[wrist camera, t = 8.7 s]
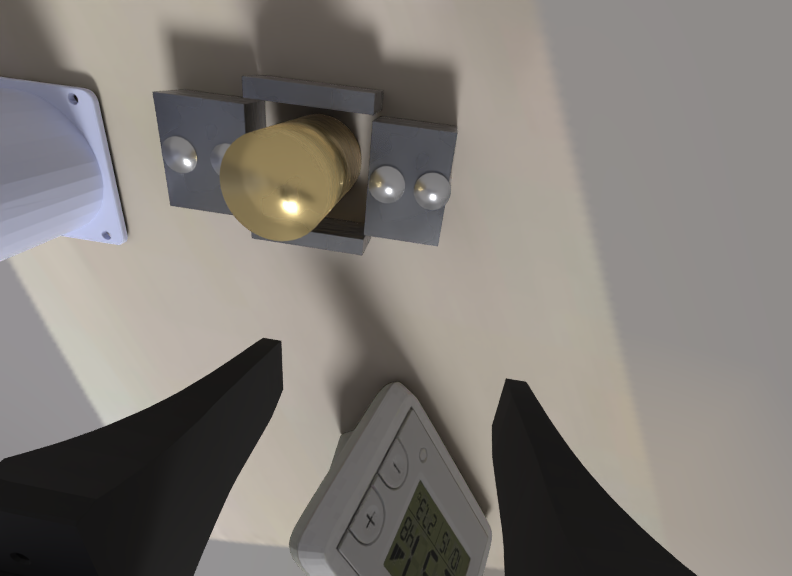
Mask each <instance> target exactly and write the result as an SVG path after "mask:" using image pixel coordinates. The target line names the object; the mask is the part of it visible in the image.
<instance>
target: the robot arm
mask: <svg viewBox="0 0 792 576" xmlns="http://www.w3.org/2000/svg"><path fill="white" fill-rule="evenodd" d="M74 94H75V95H76V96H77V98H78V102H77V101H76V100H75V98H74ZM107 232H108V233H109V234H110V236H111V237H110V236H109V235H108V233H107ZM59 236H66V237H72V238H78V239H84V240H91V241H97V242H103V243H110V244H116V245H121V244H122V243H124V242H126V241H127V239H128V236H127V231H126V226H125V222H124V217H123V213H122V208H121V203H120V199H119V194H118V190H117V185H116V180H115V176H114V171H113V167H112V162H111V157H110V153H109V148H108V143H107V139H106V134H105V130H104V125H103V120H102V116H101V111H100V107H99V102H98V99H97V96H96V95H95V94H94V92H92V91H91V90H89V89H87V88H80V87H73V86H66V85H58V84H51V83H44V82H36V81H29V80H22V79H14V78H7V77H0V261H3V260H5V259H7V258H10V257H12V256H14V255H17V254H19V253H22V252H24V251H26V250H29V249H31V248H33V247H36V246H38V245H40V244H43V243H45V242H47V241H50V240H52V239H54V238H57V237H59ZM282 391H283V372H282V347H281V341H279V340H273V339H267V338H262V339H261V340H259V341H258V342H256V343H255V344H253V345H252V346H250V347H249V348H247V349H246V350H244V351H243V352H241V353H240V354H239V355H237V356H236V357H234V358H233V359H231V360H230V361H228V362H227V363H225V364H224V365H222V366H221V367H219V368H218V369H216V370H215V371H213V372H212V373H210V374H208V375H207V376H205V377H203V378H202V379H200V380H198V381H197V382H195V383H193V384H192V385H190V386H188V387H187V388H185V389H183V390H182V391H180V392H178V393H176V394H174V395H172V396H171V397H169V398H167V399H165V400H163V401H161V402H159V403H157V404H155V405H153V406H151V407H149V408H147V409H144V410H142V411H140V412H138V413H135V414H133V415H131V416H128V417H126V418H124V419H121V420H119V421H117V422H114V423H112V424H110V425H107V426H105V427H102V428H99V429H97V430H94V431H91V432H89V433H86V434H83V435H80V436H78V437H74V438H72V439H69V440H66V441H63V442H60V443H56V444H53V445H50V446H47V447H43V448H40V449H36V450H33V451H29V452H26V453H22V454H19V455H16V456H12V457H8V458H5V459H3V460H2V461H1V462H0V576H194V573H195V571H196V568H197V566H198V563H199V561H200V558H201V556H202V553H203V551H204V549H205V546H206V544H207V542H208V540H209V537H210V535H211V533H212V530H213V528H214V526H215V523H216V521H217V519H218V517H219V514H220V512H221V510H222V508H223V505H224V503H225V501H226V499H227V497H228V494H229V492H230V490H231V488H232V486H233V484H234V483H235V481H236V479H237V477H238V475H239V473H240V472H241V470H242V468H243V467H244V465H245V463H246V461H247V460H248V458H249V456H250V454H251V453H252V451H253V449H254V447H255V446H256V444H257V442H258V440H259V439H260V437H261V435H262V433H263V432H264V430H265V428H266V426H267V425H268V423H269V421H270V419H271V417H272V415H273V413H274V410H275V408H276V406H277V403H278V401H279V398H280V396H281V393H282ZM492 458H493V466H494V474H495V481H496V489H497V496H498V503H499V510H500V518H501V525H502V534H503V544H504V567H505V576H697V575H696V574H695V573H693V572H692V571H691V570H689V569H688V568H687V567H685V566H684V565H683V564H682V563H681V562H680V561H678V560H677V559H676V558H675V557H674V556H673V555H672V554H670V553H669V552H668V551H667V550H666V549H665V548H663V547H662V546H661V545H660V544H659V543H658V542H657V541H655V540H654V539H653V538H652V537H651V536H650V535H649V534H648V533H647V532H646V531H645V530H643V529H642V528H641V527H640V526H639V525H638V524H637V523H636V522H635V521H634V520H633V519H632V518H631V517H630V516H629V515H628V514H627V513H626V512H625V511H624V510H623V509H622V508H621V507H620V506H619V505H618V504H617V503H616V502H615V501H614V500H613V499H612V498H611V497H610V496H609V495H608V493H607V492H606V491H605V490H604V489H603V488H602V487H601V486H600V484H599V483H598V482H597V481H596V480H595V479H594V478H593V477H592V475H591V474H590V473H589V472H588V471H587V470H586V468H585V467H584V466H583V465H582V463H581V462H580V461H579V459H578V458H577V457H576V456H575V454H574V453H573V452H572V450H571V449H570V448H569V446H568V445H567V443H566V442H565V441H564V439H563V438H562V436H561V435H560V433H559V432H558V431H557V429H556V428H555V426H554V425H553V423H552V422H551V420H550V419H549V417H548V416H547V414H546V413H545V411H544V409H543V408H542V406H541V405H540V403H539V402H538V400H537V398H536V397H535V395H534V393H533V392H532V390H531V389H530V387H529V385H528V384H527V383H526V382H524V381H518V380H512V379H506V380H505V384H504V387H503V390H502V394H501V397H500V400H499V404H498V407H497V411H496V414H495V417H494V421H493V424H492Z"/></svg>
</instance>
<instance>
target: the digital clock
mask: <svg viewBox="0 0 792 576" xmlns="http://www.w3.org/2000/svg"><path fill="white" fill-rule="evenodd" d="M491 540H492V531H491V527H490V525H489V523H488V521H487V519H486V518H485V516H484V514H483V512H482V510H481V508H480V507H479V505H478V503H477V501H476V500H475V498H474V496H473V494H472V493H471V491H470V489H469V487H468V486H467V484H466V482H465V480H464V479H463V477H462V475H461V473H460V472H459V470H458V468H457V467H456V465H455V463H454V461H453V460H452V458H451V456H450V454H449V453H448V451H447V449H446V447H445V446H444V444H443V442H442V440H441V439H440V437H439V435H438V433H437V432H436V430H435V428H434V426H433V425H432V423H431V421H430V419H429V418H428V416H427V414H426V413H425V411H424V409H423V408H422V406H421V404H420V403H419V401H418V400H417V398H416V397H415V396H414V395H413V394H412V393H411V392H410V391H409V390H408V389H407V388H406V387H405V386H404V385H403V384H402V383H399V382H393V383H390V384H388V385H386V386H385V387H383V388H382V390H381V391H380V392H379V393H378V394H377V395H376V397H375V398H374V400H373V401H372V403H371V404H370V406H369V408H368V409H367V411H366V412H365V414H364V416H363V417H362V419H361V420H360V422H359V424H358V425H357V427H356V428H355V430H354V431H351V432H347V433H344V434H342V435H341V436H340V439H339V442H338V445H337V448H336V451H335V455H334V458H333V461H332V464H331V467H330V470H329V472H328V473H327V475H326V476H325V478H324V480H323V481H322V483H321V484H320V486H319V488H318V489H317V491H316V492H315V494H314V496H313V497H312V499H311V501H310V502H309V504H308V505H307V507H306V509H305V510H304V512H303V514H302V515H301V517H300V519H299V520H298V522H297V524H296V526H295V528H294V530H293V532H292V534H291V537H290V541H289V548H290V553H291V555H292V557H293V560H294V561H295V562H296V564H297V565H298V567H299V568H301V570H302V571H303V572H304V573H305V574H306V575H307V576H483V573H484V569H485V565H486V562H487V558H488V554H489V550H490V546H491Z"/></svg>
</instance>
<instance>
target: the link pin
mask: <svg viewBox="0 0 792 576" xmlns="http://www.w3.org/2000/svg"><path fill="white" fill-rule="evenodd" d="M360 170H361V152H360V148H359V145H358V142H357V140H356V138H355V136H354V135H353V133H352V132H351V131H350V130H349V129H348V127H347V126H345V125H344V124H343V123H342V122H340V121H339V120H337V119H335V118H333V117H331V116H328V115H323V114H310V115H307V116H303V117H300V118H296V119H293V120H290V121H286V122H283V123H280V124H276V125H273V126H269V127H266V128H263V129H259V130H256V131H253V132H249V133H247V134H244V135H242V136H241V137H239V138H238V139H236V140H235V141H234V142H233V143H232V144H231V145H230V146H229V147H228V149H227V150H226V152H225V154H224V156H223V159H222V162H221V166H220V186H221V191H222V194H223V197H224V200H225V202H226V204H227V206H228V208H229V210H230V211H231V212H232V214H233V215H234V216H235V218H236V219H237V220H238V221H239V222H240V223H241V224H242V225H243V226H244V227H246V228H247V229H248V230H250V231H251V232H253V233H255V234H256V235H259V236H261V237H263V238H266V239H269V240H274V241H290V240H295V239H298V238H301V237H303V236H305V235H307V234H308V233H309V232H311V231H312V230H313V229H314V228H315V227H316V226H317V225H318V224H319V223H320V222H321V221H322V219H323V218H324V217H325V216H326V215H327V214H328V213H329V212H330V211H331V210H332V208H333V207H334V206H335V205H336V204H337V203H338V202H339V201H340V200H341V199H342V197H343V196H344V195H345V194H346V193H347V192H348V191H349V190H350V189H351V188H352V186H353V185H354V184H355V182H356V180H357V179H358V176H359V174H360Z"/></svg>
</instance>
